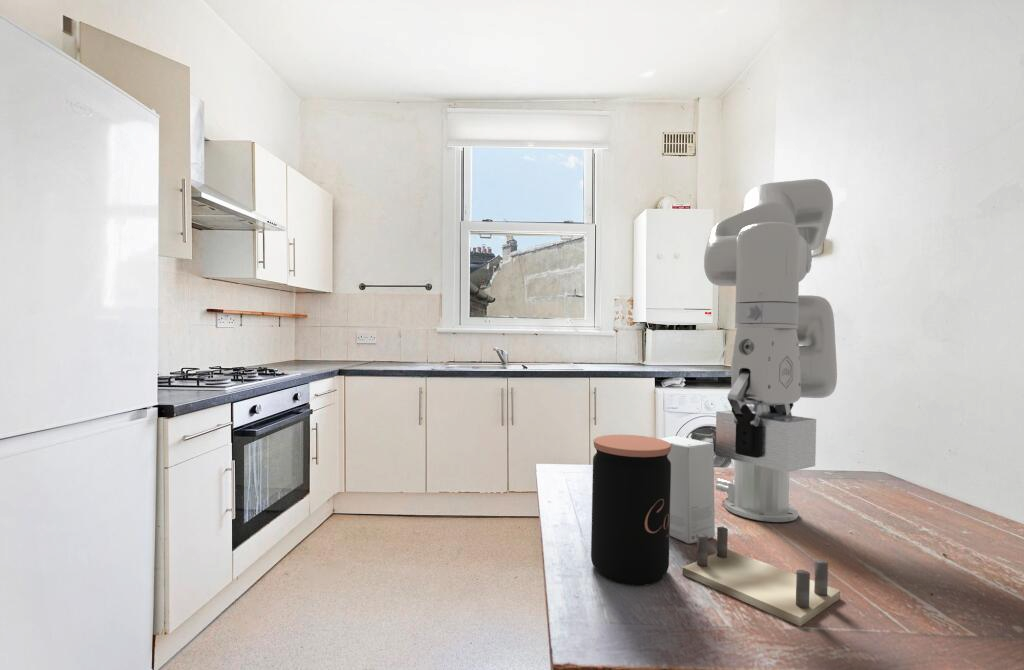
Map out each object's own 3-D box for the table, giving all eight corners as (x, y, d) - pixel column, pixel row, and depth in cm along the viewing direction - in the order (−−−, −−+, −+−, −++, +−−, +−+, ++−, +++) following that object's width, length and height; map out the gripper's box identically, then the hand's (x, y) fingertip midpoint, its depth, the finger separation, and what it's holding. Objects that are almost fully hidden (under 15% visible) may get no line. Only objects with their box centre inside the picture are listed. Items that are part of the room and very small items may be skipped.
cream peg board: (682, 574, 72) (683, 538, 72) (726, 555, 79) (726, 522, 79) (800, 626, 60) (801, 582, 60) (840, 598, 66) (841, 559, 66)
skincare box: (715, 538, 85) (717, 443, 85) (686, 546, 82) (689, 447, 82) (676, 521, 93) (678, 434, 92) (648, 528, 89) (650, 437, 89)
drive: (715, 455, 72) (716, 410, 72) (743, 450, 75) (744, 407, 75) (787, 472, 63) (788, 421, 63) (815, 466, 67) (816, 417, 67)
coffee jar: (655, 596, 66) (658, 454, 66) (578, 574, 72) (580, 443, 71) (677, 565, 75) (680, 440, 75) (607, 548, 81) (609, 431, 81)
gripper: (760, 314, 61) (757, 467, 61) (824, 320, 72) (821, 450, 72) (703, 315, 67) (700, 454, 67) (769, 320, 78) (766, 440, 77)
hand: (762, 451), depth 69 cm, fingers closed on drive, 6 cm apart
